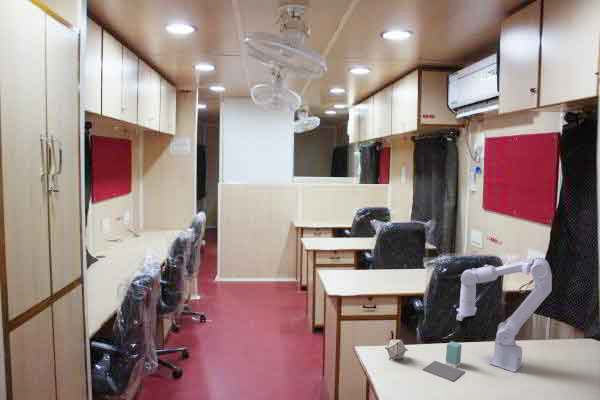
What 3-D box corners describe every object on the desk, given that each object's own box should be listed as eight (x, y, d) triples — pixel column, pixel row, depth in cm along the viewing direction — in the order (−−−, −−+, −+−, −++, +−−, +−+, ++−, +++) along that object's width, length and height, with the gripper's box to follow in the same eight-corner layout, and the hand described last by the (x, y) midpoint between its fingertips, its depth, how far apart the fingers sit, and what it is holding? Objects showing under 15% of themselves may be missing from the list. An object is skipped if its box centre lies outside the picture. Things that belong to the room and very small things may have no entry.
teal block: (460, 364, 175) (461, 344, 174) (455, 367, 172) (457, 347, 172) (450, 360, 178) (451, 341, 177) (445, 364, 175) (446, 344, 174)
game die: (397, 365, 181) (411, 344, 182) (400, 368, 172) (414, 345, 174) (378, 352, 182) (392, 330, 184) (380, 353, 174) (394, 331, 176)
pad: (464, 372, 169) (465, 371, 169) (453, 381, 162) (453, 380, 162) (434, 361, 177) (434, 360, 177) (422, 370, 170) (422, 369, 170)
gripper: (465, 293, 188) (463, 325, 189) (449, 301, 177) (447, 335, 179) (482, 298, 183) (480, 330, 185) (467, 306, 173) (465, 340, 174)
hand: (465, 333), depth 181 cm, fingers closed
